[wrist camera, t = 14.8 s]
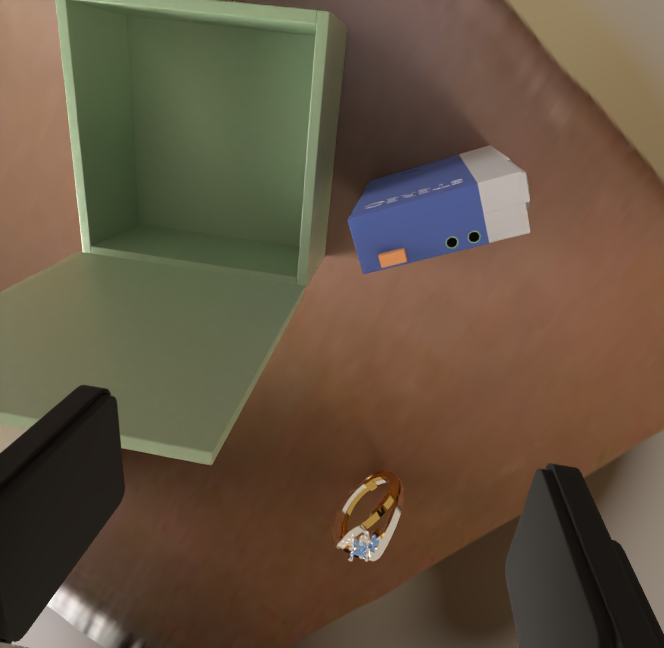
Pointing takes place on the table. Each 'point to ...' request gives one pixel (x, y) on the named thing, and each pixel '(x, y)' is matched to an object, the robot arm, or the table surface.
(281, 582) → the table surface
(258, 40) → the chest
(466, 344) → the table surface
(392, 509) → the ring
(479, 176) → the walkman
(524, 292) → the table surface
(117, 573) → the table surface
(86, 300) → the chest lid
